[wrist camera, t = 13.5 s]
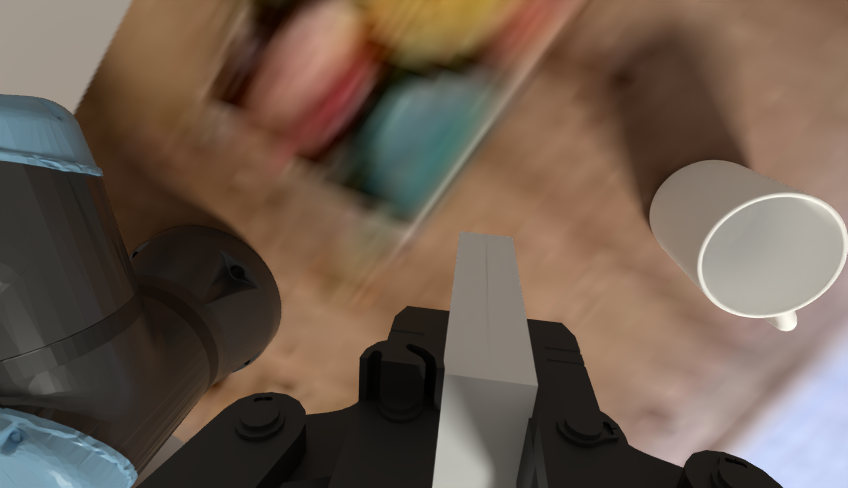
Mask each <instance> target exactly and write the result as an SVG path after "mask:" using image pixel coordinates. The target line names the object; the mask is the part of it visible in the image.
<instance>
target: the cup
mask: <svg viewBox="0 0 848 488" xmlns="http://www.w3.org/2000/svg"><path fill="white" fill-rule="evenodd" d="M649 219H650V226H651V230H652V232H653V235H654V237H655V238H656V240H657V242H658V243H659V244H660V246H661V247H662V248H663V249H664V250H665V251H666V252H667V253H668V255H669V256H670V257H671V258H672V259H673V260H674V261H675V262H676V263H677V264H678V265H679V266H680V268H681V269H682V270H683V271H684V272H685V273H686V274H687V275H688V276H689V277H690V278H691V280H692V281H693V282H694V283H695V284H696V285H697V286H698V287H699V288H700V289H701V290H702V291H703V293H704V294H705V295H706V296H707V297H708V298H709V299H710V300H711V301H712V302H713V303H714V304H715V305H717V306H718V307H720V308H721V309H723V310H725V311H727V312H730V313H732V314H735V315H739V316H744V317H752V318H764V319H765V320H766V321H768V322H769V323H770V324H771V325H773V326H774V327H776V328H777V329H779V330H782V331H790V330H792V329H794V328H795V327H796V325H797V316H796V313H795V310H797V309H800V308H802V307H804V306H805V305H807V304H809V303H811V302H812V301H814V300H815V299H816V298H818V297H819V296H820V295H822V294H823V293H824V292H825V291H826V290H827V289H828V288H829V287H830V286H831V285H832V283H833V282H834V281H835V280H836V278H837V277H838V275H839V274H840V272H841V270H842V268H843V266H844V264H845V261H846V258H847V253H848V233H847V230H846V226H845V224H844V222H843V220H842V218H841V217H840V215H839V214H838V213H837V211H836V210H835V209H834V208H833V207H831V206H830V205H829V204H827V203H826V202H824V201H823V200H821V199H819V198H816V197H814V196H812V195H809V194H807V193H805V192H802V191H800V190H798V189H795V188H793V187H791V186H788V185H786V184H784V183H781V182H779V181H777V180H774V179H772V178H770V177H767V176H765V175H763V174H760V173H758V172H755V171H753V170H751V169H748V168H746V167H744V166H741V165H739V164H736V163H732V162H729V161H723V160H705V161H700V162H696V163H693V164H690V165H688V166H685V167H683V168H681V169H680V170H678V171H676V172H675V173H673V174H672V175H671V176H670V177H668V178H667V179H666V180H665V181H664V183H663V184H662V185H661V186H660V187H659V189H658V190H657V192H656V194H655V196H654V198H653V201H652V204H651V207H650V215H649Z"/></svg>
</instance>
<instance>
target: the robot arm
mask: <svg viewBox="0 0 848 488" xmlns="http://www.w3.org/2000/svg"><path fill="white" fill-rule="evenodd" d="M101 176H103V173H102V170H101V168H99V167H97V165H96V163H95V161H94V158H93V156H92V154H91V151H90V149H89V147H88V144H87V142H86V140H85V137H84V135H83V133H82V130H81V128H80V125H79V123H78V121H77V120H76V118H75V117H74V116H73V115H72V114H71V113H70V112H69V111H68V110H67V109H66V108H64V107H63V106H61V105H59V104H57V103H55V102H53V101H50V100H47V99H44V98H38V97H31V96H19V95H3V94H0V488H130V487H131V485H132V484H133V483H134V481H135V480H136V478H137V477H138V476H139V475H140V473H141V472H142V471H143V470H144V468H145V467H146V466H147V465H148V463H149V462H150V461H151V460H152V458H153V457H154V456H155V455H156V453H157V452H158V451H159V450H160V448H161V447H162V446H163V445H164V443H165V442H166V441H167V440H168V438H169V437H170V436H171V435H172V433H173V432H174V431H175V430H176V428H177V427H178V426H179V425H180V423H181V422H182V421H183V420H184V418H185V417H186V416H187V415H188V413H189V412H190V411H191V410H192V408H193V407H194V406H195V405H196V404H197V402H198V401H199V400H200V398H201V397H202V396H203V395H204V394H205V393H206V391H207V390H208V389H209V388H210V387H211V386H212V385H214V384H215V383H217V382H219V381H221V380H222V379H224V378H226V377H227V376H228V375H230V374H231V373H233V372H236V371H238V370H240V369H242V368H244V367H246V366H248V365H249V364H251V363H252V362H253V361H255V360H256V359H257V358H258V357H259V356H260V355H261V354H262V353H263V351H264V350H265V349H266V347H267V346H268V345H269V343H270V342H271V341H272V339H273V338H274V336H275V334H276V332H277V330H278V327H279V324H280V319H281V300H280V295H279V291H278V288H277V285H276V283H275V281H274V279H273V277H272V275H271V273H270V271H269V270H268V268H267V267H266V265H265V264H264V263H263V262H262V260H261V259H260V258H259V257H258V256H257V255H256V254H255V253H254V252H253V251H252V250H251V249H250V248H248V247H247V246H246V245H245V244H243V243H242V242H240V241H239V240H237V239H236V238H234V237H232V236H230V235H228V234H226V233H224V232H221V231H219V230H216V229H212V228H208V227H203V226H190V225H189V226H179V227H174V228H171V229H168V230H165V231H163V232H161V233H159V234H157V235H156V236H154V237H152V238H150V239H148V240H146V241H145V242H144V243H142V244H141V245H140V246H138V247H137V248H136V249H135V250H134V251H133V252H132V253H131V255H130V256H128V254H127V251H126V248H125V245H124V242H123V240H122V237H121V234H120V231H119V228H118V226H117V223H116V220H115V217H114V214H113V211H112V209H111V206H110V203H109V200H108V197H107V194H106V191H105V188H104V185H103V182H102V179H101ZM136 488H783V487H782V486H781V485H780V484H779V483H777V482H776V481H775V480H774V479H773V478H772V477H770V476H769V475H768V474H767V473H766V472H764V471H763V470H762V469H760V468H758V467H756V466H755V465H753V464H751V463H749V462H748V461H746V460H744V459H742V458H739V457H736V456H733V455H730V454H727V453H725V452H718V451H709V450H705V451H701V452H697V453H693V454H692V455H691V456H690V457H689V459H688V460H687V461H686V463H685V465H684V468H682V467H680V466H677V465H674V464H672V463H669V462H666V461H664V460H661V459H658V458H656V457H653V456H650V455H648V454H646V453H644V452H641V451H639V450H637V449H635V448H634V447H632V446H630V445H629V444H628V442H627V439H626V437H625V435H624V433H623V432H622V430H621V429H620V427H619V425H618V424H617V423H616V422H615V421H613V420H612V419H611V418H610V417H609V416H608V415H606V414H605V413H603V412H601V411H600V409H599V406H598V403H597V400H596V397H595V394H594V391H593V388H592V385H591V382H590V379H589V376H588V373H587V370H586V367H584V361H583V358H582V355H581V354H580V349H579V346H578V343H577V340H576V337H575V336H574V335H573V334H572V333H571V332H570V331H569V330H568V329H567V328H566V327H565V326H564V325H563V324H562V323H558V322H549V321H541V320H533V319H526V313H525V307H524V301H523V295H522V290H521V284H520V278H519V272H518V266H517V261H516V255H515V249H514V243H513V237H508V236H499V235H490V234H480V233H471V232H462V231H460V233H459V241H458V249H457V257H456V265H455V273H454V281H453V289H452V297H451V306H450V311H445V310H437V309H428V308H420V307H412V306H407V307H406V308H405V309H403V310H402V311H401V312H400V313H399V314H397V315H396V316H395V318H394V321H393V324H392V327H391V331H390V333H389V336H388V339H387V340H385V341H381V342H377V343H376V344H374V345H372V346H370V347H368V348H367V349H366V350H365V351H364V353H363V354H362V355H361V357H360V367H359V401H358V402H357V403H356V404H354V405H352V406H350V407H347V408H345V409H342V410H338V411H333V412H328V413H319V414H309V415H306V411H305V409H304V408H303V406H302V405H301V403H300V402H299V401H298V400H296V399H294V398H292V397H291V396H289V395H286V394H280V393H274V392H268V393H257V394H253V395H250V396H247V397H244V398H241V399H239V400H237V401H235V402H234V403H232V404H231V405H229V406H228V407H226V408H225V409H224V410H223V411H221V412H220V413H219V414H218V415H217V416H216V417H215V418H214V419H212V420H211V421H210V422H209V423H208V424H207V425H206V426H205V427H204V428H202V429H201V430H200V431H199V432H198V433H197V434H196V435H195V436H193V437H192V438H191V439H190V440H189V441H188V442H187V443H186V444H185V445H183V446H182V447H181V448H180V449H179V450H178V451H177V452H175V453H174V454H173V455H172V456H171V457H170V458H169V459H168V460H167V461H165V462H164V463H163V464H162V465H161V466H160V467H159V468H158V469H156V470H155V471H154V472H153V473H152V474H151V475H150V476H149V477H147V478H146V479H145V480H144V481H143V482H142V483H141V484H140V485H138V486H137V487H136Z"/></svg>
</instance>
